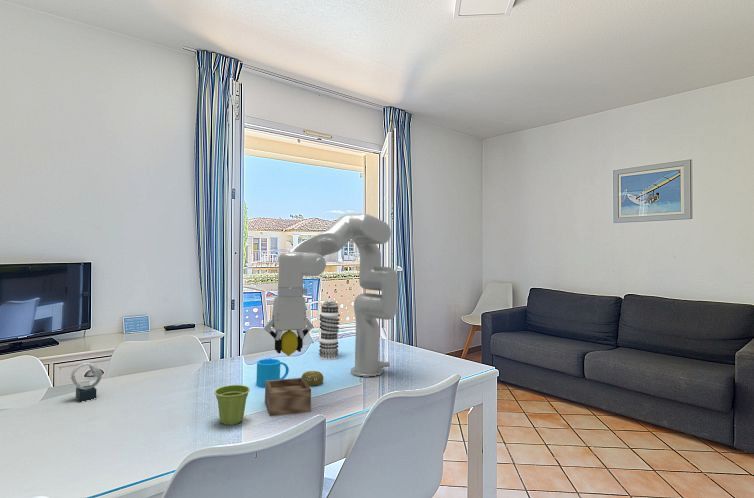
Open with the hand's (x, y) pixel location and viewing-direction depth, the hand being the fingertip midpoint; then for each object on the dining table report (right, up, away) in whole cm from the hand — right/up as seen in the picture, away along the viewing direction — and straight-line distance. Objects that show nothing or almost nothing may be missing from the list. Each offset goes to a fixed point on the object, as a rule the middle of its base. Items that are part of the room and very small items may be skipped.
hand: (288, 351), depth 131 cm
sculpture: (+4, -18, +23) cm, 29 cm away
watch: (-64, -16, +2) cm, 66 cm away
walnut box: (0, -17, 0) cm, 17 cm away
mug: (-10, -17, +22) cm, 30 cm away
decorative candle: (+5, -18, +61) cm, 63 cm away
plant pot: (-14, -17, -12) cm, 25 cm away
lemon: (0, -2, 0) cm, 2 cm away
